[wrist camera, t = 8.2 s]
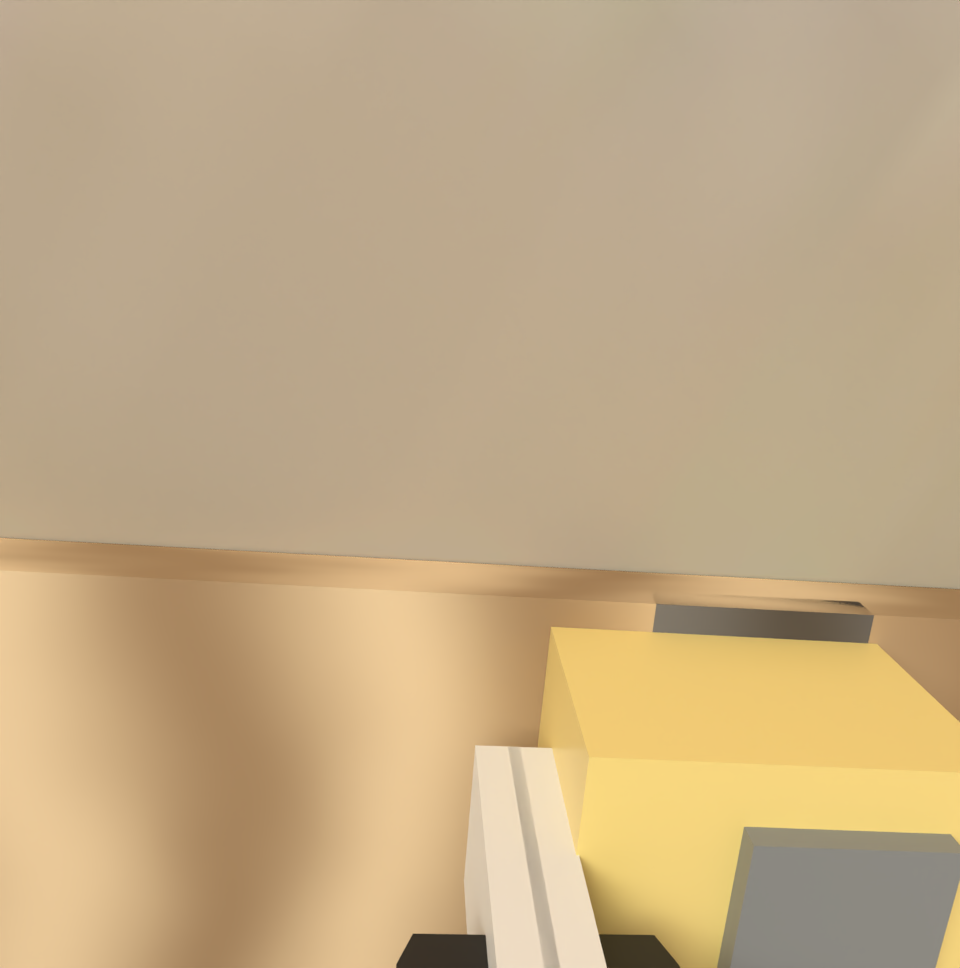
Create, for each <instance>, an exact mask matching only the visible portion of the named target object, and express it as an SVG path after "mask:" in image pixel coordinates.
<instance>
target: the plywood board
mask: <svg viewBox="0 0 960 968" xmlns="http://www.w3.org/2000/svg"><path fill="white" fill-rule="evenodd" d="M551 627H564V628H584V629H603V630H622V631H641V632H659V633H678V634H697V635H716V636H735V637H754V638H773V639H793V640H812V641H831V642H850V643H870V644H877V645H878V646H880V647H881V648H882V649H883V650H884V651H885V652H886V653H887V654H888V655H889V656H890V657H891V658H892V659H893V660H894V661H895V662H896V663H898V664H899V665H900V666H901V667H902V668H903V669H904V670H905V671H906V672H907V673H908V674H909V675H910V676H911V677H912V678H913V679H914V680H915V681H917V682H918V683H919V684H920V685H921V686H922V687H923V688H924V689H925V690H926V691H927V692H928V693H929V694H930V695H931V696H932V697H933V698H935V699H936V700H937V701H938V702H939V703H940V704H941V705H942V706H943V707H944V708H945V709H946V710H947V711H948V712H949V713H950V714H951V715H953V716H954V717H955V718H956V719H957V720H958V721H959V722H960V589H943V588H924V587H906V586H887V585H868V584H850V583H831V582H812V581H794V580H775V579H757V578H738V577H719V576H701V575H682V574H663V573H645V572H626V571H607V570H589V569H570V568H552V567H533V566H514V565H496V564H477V563H458V562H440V561H421V560H402V559H384V558H365V557H347V556H328V555H309V554H291V553H272V552H253V551H235V550H216V549H197V548H179V547H160V546H142V545H123V544H104V543H86V542H67V541H48V540H30V539H11V538H0V968H396V964H397V962H398V960H399V958H400V956H401V955H402V953H403V951H404V949H405V947H406V945H407V944H408V942H409V940H410V938H411V936H412V934H467V924H466V908H465V891H464V873H465V862H466V850H467V838H468V826H469V814H470V802H471V790H472V779H473V767H474V755H475V745H479V746H510V747H535V748H537V747H538V738H539V730H540V721H541V712H542V703H543V694H544V685H545V676H546V667H547V659H548V650H549V641H550V632H551Z"/></svg>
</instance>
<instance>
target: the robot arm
mask: <svg viewBox="0 0 960 968" xmlns="http://www.w3.org/2000/svg"><path fill="white" fill-rule="evenodd" d="M464 891H465V908H466V924H467V934H412V936H411V938H410V940H409V942H408V944H407V945H406V947H405V949H404V951H403V953H402V955H401V956H400V958H399V960H398V962H397V964H396V968H680V966H679V964H678V963H677V962H676V961H675V960H674V958H673V957H672V956H671V955H670V953H669V952H668V951H667V950H666V949H665V947H664V946H663V945H662V944H661V943H660V941H659V940H658V939H657V938H656V937H655V935H616V934H598V930H597V926H596V922H595V917H594V913H593V909H592V905H591V901H590V897H589V893H588V889H587V885H586V881H585V877H584V873H583V869H582V865H581V861H580V857H579V855H576V852H575V848H574V843H573V839H572V834H571V830H570V826H569V821H568V817H567V812H566V808H565V803H564V799H563V795H562V790H561V786H560V781H559V777H558V772H557V768H556V764H555V759H554V755H553V750H552V748H535V747H510V746H479V745H475V755H474V767H473V779H472V790H471V802H470V814H469V826H468V838H467V850H466V862H465V873H464Z"/></svg>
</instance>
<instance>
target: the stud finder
mask: <svg viewBox="0 0 960 968" xmlns="http://www.w3.org/2000/svg"><path fill="white" fill-rule="evenodd" d="M537 748H552V750H553V755H554V759H555V764H556V768H557V772H558V777H559V781H560V786H561V790H562V795H563V799H564V803H565V808H566V812H567V817H568V821H569V826H570V830H571V834H572V839H573V843H574V848H575V852H576V855H579V857H580V861H581V865H582V869H583V873H584V877H585V881H586V885H587V889H588V893H589V897H590V901H591V905H592V909H593V913H594V917H595V922H596V926H597V930H598V934H616V935H655V937H656V938H657V939H658V940H659V941H660V943H661V944H662V945H663V946H664V947H665V949H666V950H667V951H668V952H669V953H670V955H671V956H672V957H673V958H674V960H675V961H676V962H677V963H678V964H679V966H680V968H960V722H959V721H958V720H957V719H956V718H955V717H954V716H953V715H951V714H950V713H949V712H948V711H947V710H946V709H945V708H944V707H943V706H942V705H941V704H940V703H939V702H938V701H937V700H936V699H935V698H933V697H932V696H931V695H930V694H929V693H928V692H927V691H926V690H925V689H924V688H923V687H922V686H921V685H920V684H919V683H918V682H917V681H915V680H914V679H913V678H912V677H911V676H910V675H909V674H908V673H907V672H906V671H905V670H904V669H903V668H902V667H901V666H900V665H899V664H898V663H896V662H895V661H894V660H893V659H892V658H891V657H890V656H889V655H888V654H887V653H886V652H885V651H884V650H883V649H882V648H881V647H880V646H878V645H877V644H870V643H850V642H831V641H812V640H793V639H773V638H754V637H735V636H716V635H697V634H678V633H659V632H641V631H622V630H603V629H584V628H564V627H551V632H550V641H549V650H548V659H547V667H546V676H545V685H544V694H543V703H542V712H541V721H540V730H539V738H538V747H537Z"/></svg>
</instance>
